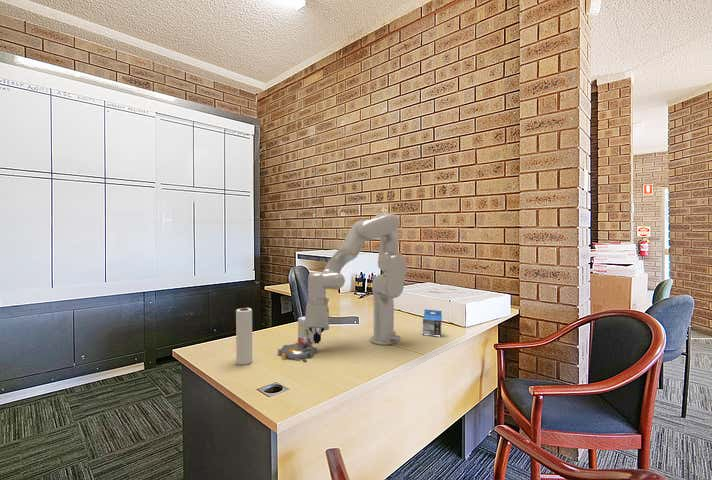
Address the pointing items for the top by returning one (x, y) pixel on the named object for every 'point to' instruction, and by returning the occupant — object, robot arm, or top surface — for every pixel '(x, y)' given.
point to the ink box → (304, 331)
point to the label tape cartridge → (432, 322)
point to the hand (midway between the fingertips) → (317, 342)
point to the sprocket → (298, 350)
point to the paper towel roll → (244, 336)
